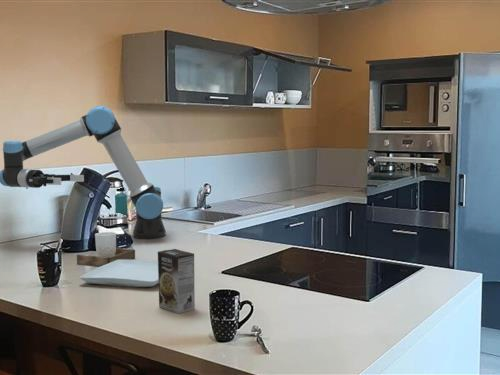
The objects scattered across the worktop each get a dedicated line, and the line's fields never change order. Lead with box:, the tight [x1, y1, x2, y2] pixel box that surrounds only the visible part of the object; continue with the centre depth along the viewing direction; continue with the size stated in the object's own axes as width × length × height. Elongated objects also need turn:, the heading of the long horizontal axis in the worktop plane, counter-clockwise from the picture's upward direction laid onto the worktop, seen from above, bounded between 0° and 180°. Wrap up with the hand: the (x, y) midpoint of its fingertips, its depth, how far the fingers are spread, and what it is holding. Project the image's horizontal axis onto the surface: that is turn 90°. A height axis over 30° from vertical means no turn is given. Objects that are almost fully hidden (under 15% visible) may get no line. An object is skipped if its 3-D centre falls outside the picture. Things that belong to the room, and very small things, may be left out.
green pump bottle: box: [114, 186, 129, 218], centre depth 310 cm, size 6×7×20 cm
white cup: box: [94, 231, 117, 257], centre depth 227 cm, size 8×8×10 cm
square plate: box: [79, 259, 159, 288], centre depth 202 cm, size 27×27×4 cm
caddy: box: [76, 247, 136, 267], centre depth 228 cm, size 15×16×4 cm
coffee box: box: [157, 248, 196, 315], centre depth 167 cm, size 9×6×16 cm
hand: (72, 179), depth 240 cm, fingers open, 13 cm apart
